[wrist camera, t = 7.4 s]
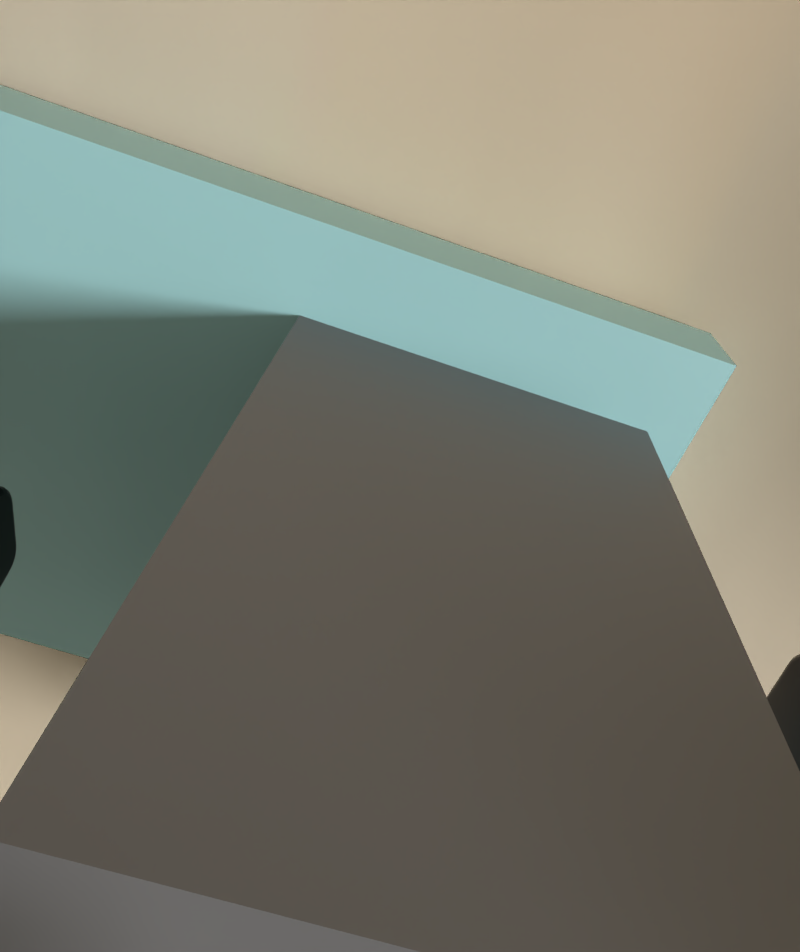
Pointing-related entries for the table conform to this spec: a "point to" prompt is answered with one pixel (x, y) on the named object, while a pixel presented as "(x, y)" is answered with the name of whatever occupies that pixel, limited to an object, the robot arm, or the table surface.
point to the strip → (357, 586)
